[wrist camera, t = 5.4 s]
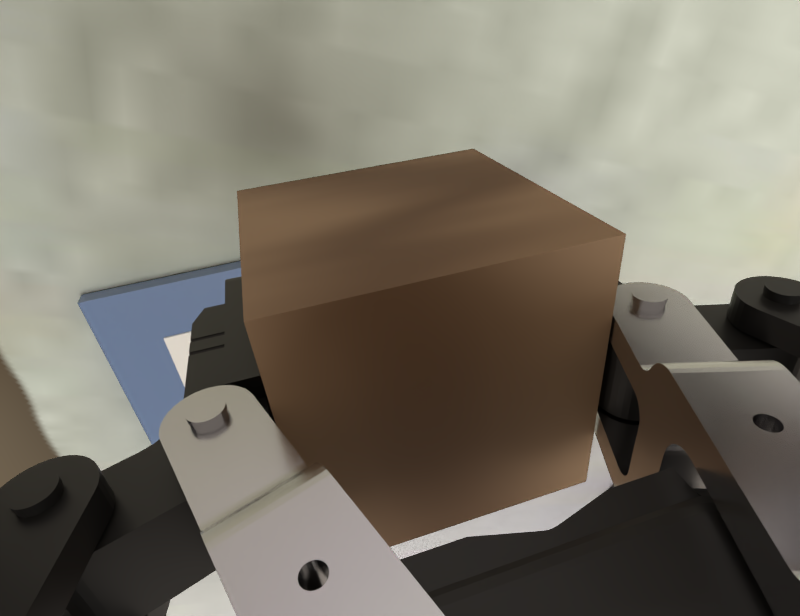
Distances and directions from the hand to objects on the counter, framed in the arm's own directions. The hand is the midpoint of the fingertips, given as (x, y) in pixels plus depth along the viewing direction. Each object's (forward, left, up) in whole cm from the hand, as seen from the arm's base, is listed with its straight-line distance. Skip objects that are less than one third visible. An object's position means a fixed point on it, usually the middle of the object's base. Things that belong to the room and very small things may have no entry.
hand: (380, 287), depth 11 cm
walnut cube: (0, 0, -1) cm, 1 cm away
